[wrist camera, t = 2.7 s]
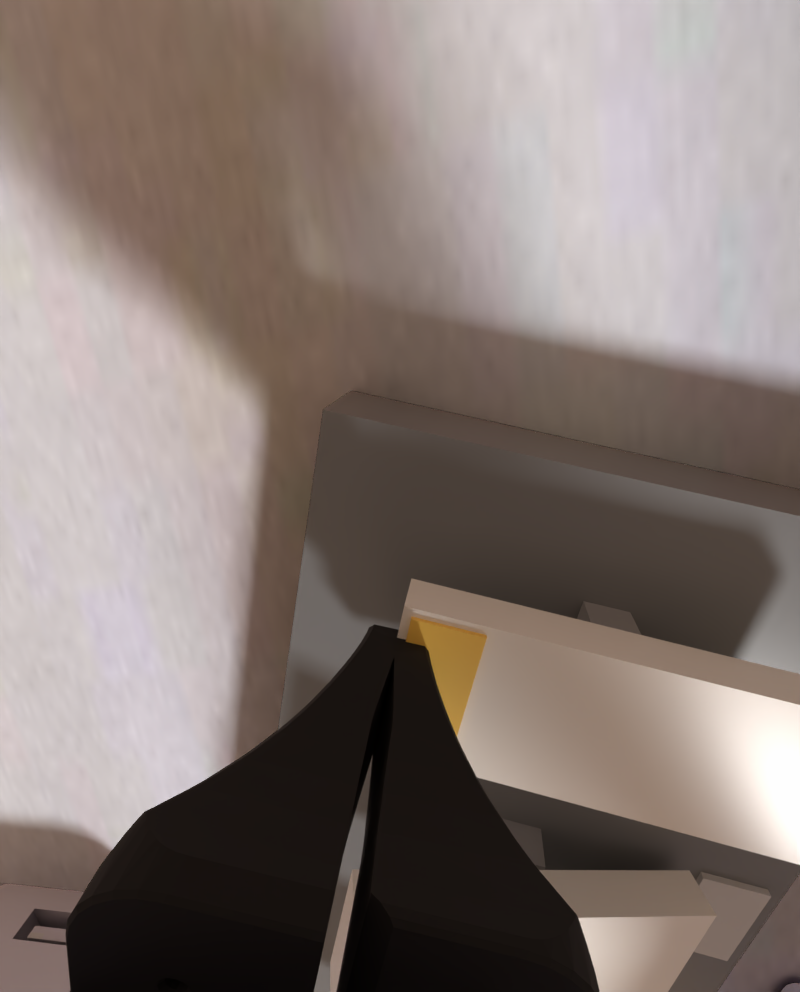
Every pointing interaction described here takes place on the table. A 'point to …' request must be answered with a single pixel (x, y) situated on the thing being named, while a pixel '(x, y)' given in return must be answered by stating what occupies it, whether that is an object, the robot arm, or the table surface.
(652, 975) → the block
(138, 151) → the table surface
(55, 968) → the charger
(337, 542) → the switch panel
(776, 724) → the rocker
